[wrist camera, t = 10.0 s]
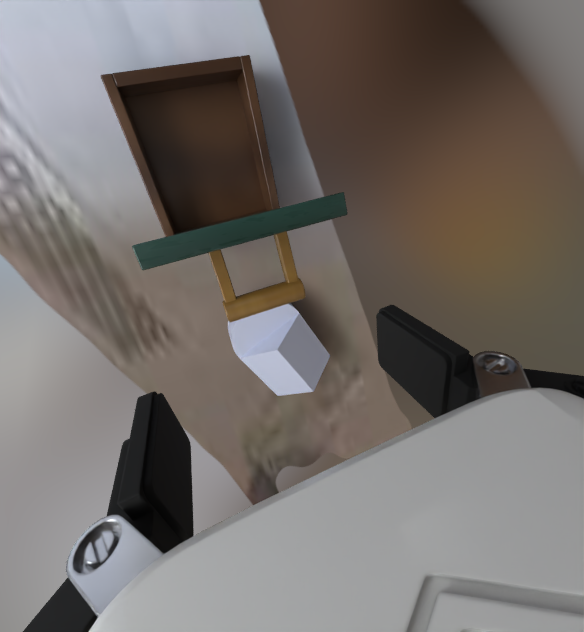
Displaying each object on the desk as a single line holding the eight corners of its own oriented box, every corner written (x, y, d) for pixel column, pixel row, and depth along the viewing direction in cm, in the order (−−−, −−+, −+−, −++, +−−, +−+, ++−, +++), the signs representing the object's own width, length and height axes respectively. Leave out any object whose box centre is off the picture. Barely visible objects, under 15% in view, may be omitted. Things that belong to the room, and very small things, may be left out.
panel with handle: (131, 245, 13) (176, 351, 15) (344, 191, 15) (360, 289, 17) (167, 242, 25) (189, 300, 27) (282, 212, 28) (296, 268, 29)
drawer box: (111, 89, 23) (99, 74, 20) (241, 70, 25) (249, 54, 22) (171, 240, 29) (170, 247, 26) (272, 214, 32) (282, 218, 28)
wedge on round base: (320, 343, 41) (271, 276, 35) (341, 369, 36) (288, 295, 29) (271, 380, 41) (212, 321, 34) (285, 413, 36) (218, 349, 29)
